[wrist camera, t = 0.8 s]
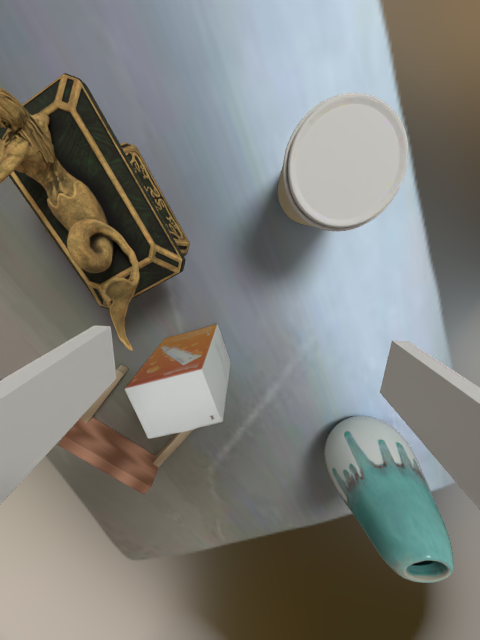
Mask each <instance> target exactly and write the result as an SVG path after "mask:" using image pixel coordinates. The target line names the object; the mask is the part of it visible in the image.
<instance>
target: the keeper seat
mask: <svg viewBox="0 0 480 640" xmlns="http://www.w3.org/2000/svg"><path fill="white" fill-rule="evenodd" d="M127 371H128V368H126V367H125V366H123V365H121V366H120V367H119V368H118V369H117V370H116V379H115V380H114V382H113V383H112V384H111V385H110V386H109V387H108V388H107V389H106V390H105V391H104V392H103V393H102V395H101V396H100V397H99V398H98V399H97V400H96V401H95V402H94V403H93V404H92V405H91V407H90V408H89V409H88V410H87V411H86V412H85V413H84V414H83V415H82V417H81V418H80V419H79V420H78V421H77V423H76V424H75V425H74V426H73V427H72V428H71V429H70V430H69V431H68V433H67V434H66V435H65V436H64V437H63V439H62V440H61V441H60V443H59V444H58V445H59V446H61V447H62V448H64V449H66V450H68V451H69V452H71V453H73V454H75V455H76V456H78V457H80V458H81V459H83V460H85V461H87V462H88V463H90V464H92V465H94V466H95V467H97V468H99V469H100V470H102V471H104V472H106V473H107V474H109V475H111V476H112V477H114V478H116V479H118V480H119V481H121V482H123V483H125V484H126V485H128V486H130V487H131V488H133V489H135V490H137V491H138V492H140V493H142V494H145V493H146V492H147V491H148V490H149V489H150V488H151V486H152V483H153V481H154V478H155V475H156V473H157V470H158V467H159V466H160V465H161V464H162V463H163V462H164V461H165V460H166V459H167V458H168V457H169V456H170V454H171V453H172V452H173V451H174V450H175V449H176V448H177V447H178V446H179V445H180V444H181V443H182V442H183V441H184V440H185V438H186V437H187V436H188V435H189V434H190V433H191V432H192V431H193V430H194V429H193V430H190V431H186V432H180V433H176V434H175V435H174V436H173V437H172V438H171V439H170V441H169V442H168V443H167V444H166V445H165V446H164V447H163V448H162V449H161V450H160V451H159V453H158V454H157V455H156V456H155V455H153V454H151V453H150V452H148V451H146V450H145V449H143V448H142V447H140V446H138V445H137V444H135V443H133V442H132V441H130V440H129V439H127V438H125V437H124V436H122V435H120V434H119V433H117V432H116V431H114V430H112V429H111V428H109V427H108V426H106V425H104V424H103V423H101V422H99V421H98V420H96V419H95V418H93V417H92V416H93V415H94V414H95V412H96V411H97V410H98V408H99V407H100V406H101V404H102V403H103V402H104V401H105V399H106V398H107V397H108V395H109V394H110V393H111V391H112V390H113V389H114V388H115V386H116V385H117V384H118V382H119V381H120V380H121V378H122V377H123V376H124V375H125V373H126V372H127Z"/></svg>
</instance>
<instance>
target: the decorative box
mask: <svg viewBox="0 0 480 640" xmlns="http://www.w3.org/2000/svg"><path fill="white" fill-rule="evenodd" d="M8 176H9V177H10V178H11V180H12V181H13V182H14V184H15V185H16V187H17V188H18V190H19V191H20V192H21V194H22V195H23V197H24V198H25V200H26V201H27V202H28V204H29V205H30V207H31V208H32V210H33V211H34V212H35V214H36V215H37V217H38V218H39V220H40V221H41V222H42V224H43V225H44V227H45V228H46V231H47V232H48V233H49V234H50V237H51V238H52V239H53V240H54V241H55V242H56V244H57V245H58V247H59V248H60V250H61V251H62V252H63V254H64V255H65V257H66V258H67V260H68V261H69V262H70V264H71V265H72V267H73V268H74V270H75V271H76V272H77V274H78V275H79V277H80V278H81V280H82V281H83V282H84V284H85V285H86V287H87V288H88V290H89V291H90V292H91V294H92V295H93V297H94V298H95V300H96V301H97V302H98V304H99V305H100V306H101V307H104V308H108V309H110V310H109V311H110V316H111V318H112V321H113V324H114V327H115V329H116V332H117V335H118V337H119V339H120V340H121V341H122V343H123V344H124V345H125V346H126V347H127V348H128V349H129V350H131V351H133V349H132V346H131V345H130V343H129V341H128V339H127V337H126V334H125V328H124V324H125V316H126V313H127V309H128V305H129V302H130V301H131V299H133V298H134V297H136V296H138V295H140V294H142V293H144V292H146V291H147V290H149V289H151V288H153V287H155V286H157V285H158V284H160V283H162V282H164V281H166V280H168V279H170V278H171V277H173V276H175V275H177V274H179V273H181V272H182V271H183V269H184V264H185V258H184V256H183V255H184V254H186V253H187V252H188V249H189V244H190V243H189V241H188V239H187V237H186V236H185V234H184V232H183V230H182V228H181V226H180V225H179V223H178V221H177V219H176V217H175V216H174V214H173V212H172V210H171V208H170V207H169V205H168V203H167V201H166V199H165V198H164V196H163V194H162V192H161V190H160V189H159V187H158V185H157V183H156V181H155V180H154V178H153V176H152V174H151V172H150V170H149V169H148V167H147V165H146V163H145V161H144V160H143V158H142V156H141V154H140V152H139V151H138V149H137V147H136V146H134V145H131V144H128V143H122V144H120V143H119V142H118V140H117V138H116V136H115V135H114V133H113V131H112V129H111V127H110V126H109V124H108V122H107V120H106V119H105V117H104V115H103V113H102V112H101V110H100V108H99V106H98V105H97V103H96V101H95V99H94V98H93V96H92V94H91V92H90V91H89V89H88V87H87V86H86V84H84V83H83V82H82V81H81V80H80V79H79V78H77V77H74V76H71V75H68V74H63V75H62V76H60V77H59V78H58V79H56V80H55V81H54V82H52V83H51V84H50V85H48V86H47V87H46V88H44V89H43V90H42V91H40V92H39V93H38V94H36V95H35V96H34V97H32V98H31V99H30V100H28V101H27V102H25V103H24V104H23V105H22V104H21V103H20V102H19V101H18V100H17V99H16V98H14V97H13V96H12V95H11V94H10V93H9V92H7V91H5V90H4V89H2V88H0V183H1V182H2V181H4V180H5V179H6V178H7V177H8Z"/></svg>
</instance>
